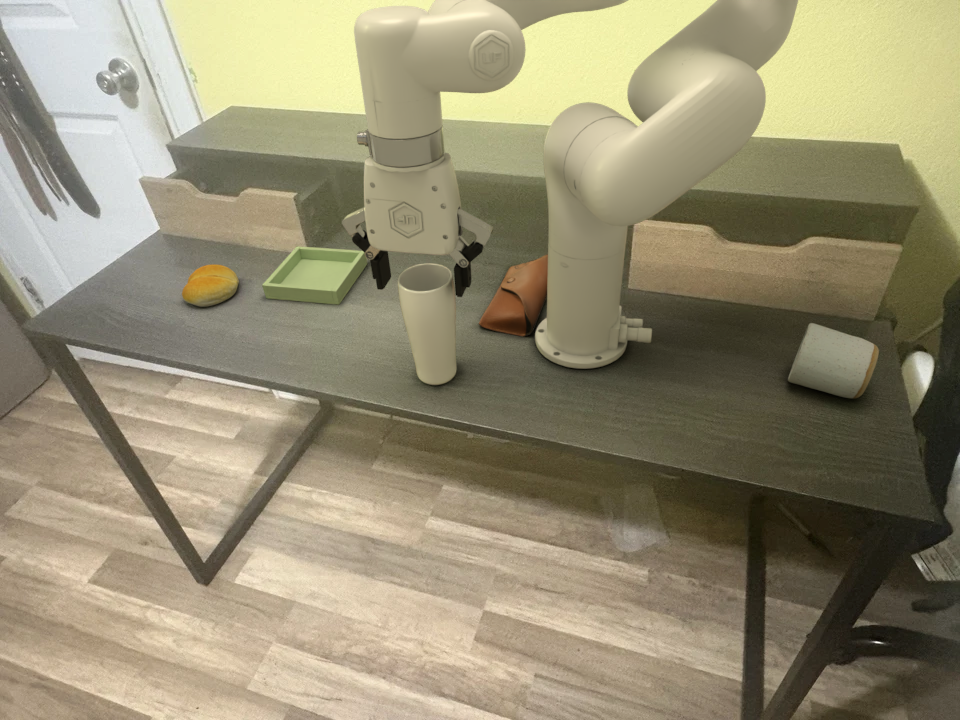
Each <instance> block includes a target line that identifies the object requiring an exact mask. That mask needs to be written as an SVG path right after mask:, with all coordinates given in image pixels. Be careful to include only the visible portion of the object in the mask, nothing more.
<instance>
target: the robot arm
mask: <svg viewBox="0 0 960 720" xmlns="http://www.w3.org/2000/svg"><path fill="white" fill-rule="evenodd" d="M628 1H629V0H433V2H432V4H431V5H430V7H429V9H428V10H426V9H424V8H421V7H418V6H414V5H385V6H380V7H374V8H371V9H367V10H366V11H365V10H364V12H362V13H360V14H359V15H358V16H357V18H356V20H355V22H354V26H353V34H354V43H355V50H356V59H357V65H358V71H359V78H360V85H361V92H362V99H363V106H364V113H365V118H366V127H367V129H366V130H364V131H357V134H356V142H357V145H359V146H365V147H367V148H368V152H369V156H368V157H366V159H365V160H364V166H363V207H361V208H359V209H357V210H355V211H352V212H351V213H349V214H347V215H346V216H345V217H344V218H343V219H342V220H341V225H342V226H343V228H344V229H345V231H346V233H347V234H348V235H349V236H350V237H351V241H352V243H353V244H354V245H355V246H356V247H358V248H359V249H360V251H363V252H364V253H365V257H366V258H367V260H369V263H370V269H371V275H372V279H373V280H375V283H376V289H377V290H381V291H383V290H384V289H385V288H386V286H387V285H388V283H389V282H390V280H391V278H392V272H391V264H390V256H389V252H391V253H402V254H413V255H414V254H415V255H425V256H447V255H449V256H450V258H452V259H453V261H454V262H455V265H454V267H453V280H454V288H455V297H456V298H463V296H464V294H465V292H466V289H467V288H471V285H472V263H471V262H473V261H474V260H475V259H476V258H477V257H479V256H480V254H482V252H483V250H484V248H485V247H486V245H487V243H488V241H489V240H490V238H491V236H492V233H493V231H494V227H493V225H491V224H490V223H487V222H485V221H484V220H482V219H480V218H479V217H476V216H475V215H473V214H471V213H469V212H467V211H465V210H463V208H462V201H461V195H460V189H459V184H458V179H457V175H456V169H455V167H454V163H453V160H452V156H451V154H450V153H449V152H445V140H444V139H445V138H444V126H443V112H442V111H443V109H442V98H441V93H462V94H487V93H492V92H496V91H500V90H501V89H503V88H505V87H506V86H508V85H509V84H510V83H512V82H514V80H515V79H516V78H517V76H518V75H519V74H520V72H521V70H522V68H523V65H524V63H525V58H526V50H527V49H526V42H525V41H526V40H525V37H524V32H523V30H524V29H527V28H529V27H530V26H533V25H535V24H537V23H539V22H541V21H545V20H547V19H550V18H553V17H557V16H559V15H565V14H574V13H584V12H594V11H600V10H604V9H605V10H606V9H608V8H609V9H610V8H612V7H615V6H620V5H622V4H624V3H626V2H628ZM798 3H799V0H715V2H713V3H712V4H711V5H710V6H708V8H707V9H705V11H704V12H702V13H700V14H699V15H698V16H697V17H696V18H694V19H693V20H692V21H691V22H689V23H688V24H687V25H686V26H684V27H683V28H682V29H680V31H678V32H677V33H676V34H674V35H673V36H672V37H671V38H669V39H668V40H667V41H666V42H665V43H663V44H662V45H660V46H659V47H658V48H657V49H655V50H654V51H653V52H651V53H650V54H649V55H648V56H647V57H646V58H644V59H643V60H642V61H641V63H639V65H638V66H637V67H636V69H635V70H634V71H633V73H632V75H631V77H630V79H629V82H628V85H627V92H626V93H627V96H626V97H627V102H628V105H629V107H630V110H631V112H632V113H633V114H634V115H635V117H636V118H637V119H638V120H639V121H640V122H641V123H640V124H639V125H637V124H636V123H634V122H633V121H632V120H631V119H629V118H627V117H626V116H624V115H623V114H621V113H619V112H618V111H616V110H615V109H613V108H611V107H609V106H607V105H606V104H603V103H602V104H601V103H597V102H592V101H591V102H589V101H588V102H580V103H579V102H578V103H575V104H573V105H570V106H568V107H567V108H565V109H564V110H562V111H561V112H560V113H559V114H558V115H557V116H556V117H555V118H554V120H553V121H552V122H551V124H550V126H549V128H548V130H547V132H546V135H545V139H544V144H543V152H542V153H543V155H542V156H543V157H542V160H543V161H542V162H543V173H544V181H545V188H546V196H547V210H548V211H547V212H548V216H547V217H548V233H547V234H548V235H547V237H548V238H547V254H548V281H547V297H546V317H545V318H544V319H542V321H540V323H539V324H538V325H537V327H536V329H535V333H534V343H535V345H536V349H537V350H538V351H539V353H540V354H541V355H542V356H543V357H544V358H546V359H547V360H549V361H550V362H552V363H554V364H557V365H559V366H563V367H566V368H572V369H584V370H586V369H587V370H588V369H596V368H600V367H604V366H607V365H609V364H611V363H613V362H615V361H617V360H618V359H619V358H620V357H622V356H623V354H624V353H625V352H626V349H627V346H628V341H629V342H637V343H645V344H651V342H652V335H653V328H650V327H643V324H644V319H643V318H635V317H634V318H627V317H626V316H625V315H622V305H620V304H621V303H620V302H621V294H622V284H623V276H624V275H623V274H624V265H625V254H626V246H627V239H628V238H627V237H628V227H630V226H635V225H637V224H640V223H643V222H645V221H647V220H648V219H650V218H652V217H653V216H655V215H657V214H658V213H660V212H661V211H663V210H664V209H666V208H667V207H668V206H670V205H671V204H672V203H674V202H675V201H676V200H678V199H679V198H680V197H682V196H684V195H685V194H686V193H687V192H689V191H690V190H691V189H692V188H694V187H695V186H697V185H698V184H699V183H701V182H702V181H704V180H705V179H706V178H707V177H709V176H710V175H711V174H713V173H714V172H715V171H717V170H718V169H719V168H721V167H722V166H723V165H725V164H726V163H727V162H728V161H730V160H731V159H732V158H733V157H734V156H736V155H737V154H738V153H739V152H740V151H741V150H742V149H743V148H744V147H745V145H747V143H748V142H749V141H750V140H751V138H752V136H753V135H754V134H755V132H756V130H757V128H758V127H759V125H760V123H761V120H762V118H763V115H764V113H765V108H766V101H767V98H766V97H767V94H766V93H767V92H766V88H765V84H764V82H763V79H762V77H761V76H760V74H759V73H758V71H759V70H760V69H761V68H762V67H764V66H765V65H766V64H767V63H768V62H769V61H770V60H771V59H772V58H773V57H774V56H775V55H776V54H777V53H778V51H779V50H780V49H781V48H782V47H783V45H784V43H785V42H786V41H787V39H788V36H789V34H790V32H791V29H792V27H793V23H794V19H795V15H796V12H797V8H798ZM363 223H365V229H363V228H362V225H361V224H363ZM464 229H465V230H467V231H468V232H471V233H472V234H474V235H475V237H476V238H475V239H474V240H473V241H472V242H471V243H468V242H467V241H466V239H465V238H464V237H463V236H462V235H463V233H464Z"/></svg>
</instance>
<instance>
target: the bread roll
mask: <svg viewBox="0 0 960 720" xmlns="http://www.w3.org/2000/svg"><path fill="white" fill-rule="evenodd" d="M239 283H240V281H239V277H238V276H237V273H236V272H235V271H233V270H232V269H231V268H230V267H227V266H226V265H222V264H215V263H213V264H206V265H203V266H200V267H198V268H196V269H195V270H194V271H193V272H192V273H191V274H190V275H189V276H188V279H187V283H186V284H185V285H184V286H183V288H182V291H181V295H182V296H181V297H182V299H183V300H184V301H185V302H186V303H188V304H191V305H193V306H197V307H211V306H212V307H213V306H215V305H217V304H221V303H222V302H225V301H226V300H229V299H230V298H231V297H233V296H234V295H235V294H236V292H237V290H238V286H239Z"/></svg>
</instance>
